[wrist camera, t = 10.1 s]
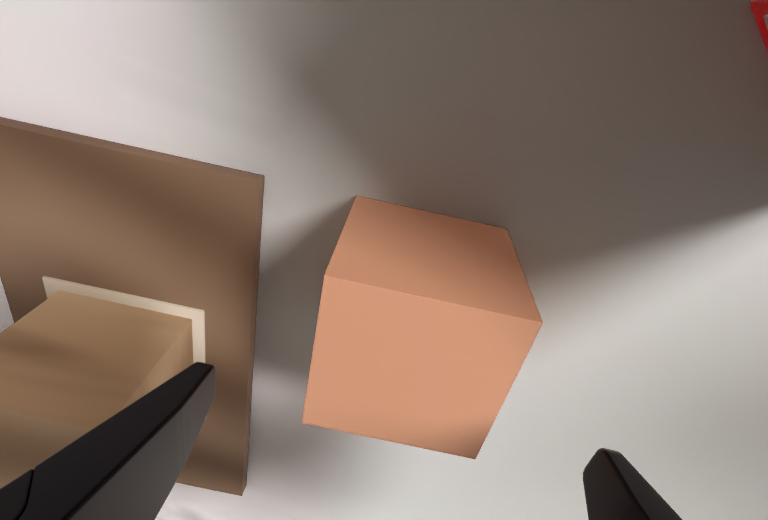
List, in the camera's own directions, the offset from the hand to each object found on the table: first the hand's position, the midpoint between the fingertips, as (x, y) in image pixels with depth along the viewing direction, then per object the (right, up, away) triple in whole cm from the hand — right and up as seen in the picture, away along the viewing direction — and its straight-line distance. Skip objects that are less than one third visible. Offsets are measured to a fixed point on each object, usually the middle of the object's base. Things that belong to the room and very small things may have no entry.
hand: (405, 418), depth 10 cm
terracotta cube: (+1, +3, +5) cm, 6 cm away
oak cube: (-11, 0, +7) cm, 13 cm away
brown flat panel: (-11, 0, +8) cm, 13 cm away
